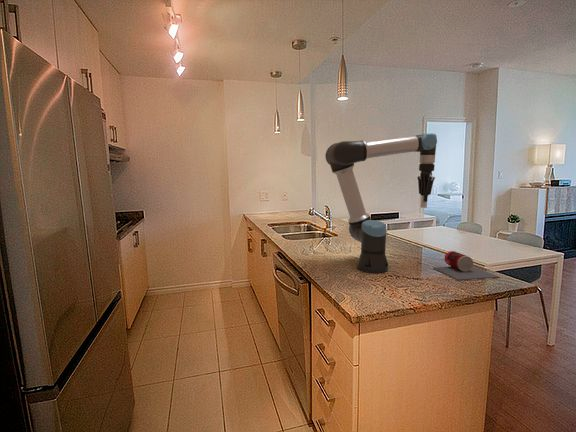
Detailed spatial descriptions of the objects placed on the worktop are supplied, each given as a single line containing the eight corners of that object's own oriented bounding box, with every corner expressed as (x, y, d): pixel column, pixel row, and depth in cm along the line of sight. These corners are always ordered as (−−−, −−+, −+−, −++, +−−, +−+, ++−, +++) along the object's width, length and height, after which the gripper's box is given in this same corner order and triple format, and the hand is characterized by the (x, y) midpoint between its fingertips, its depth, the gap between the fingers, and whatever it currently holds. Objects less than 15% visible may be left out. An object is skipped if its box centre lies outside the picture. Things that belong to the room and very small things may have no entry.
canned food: (455, 266, 163) (471, 273, 152) (442, 264, 162) (456, 270, 151) (459, 252, 162) (475, 257, 152) (445, 249, 161) (460, 254, 150)
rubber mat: (457, 280, 142) (458, 279, 142) (433, 268, 159) (433, 267, 159) (499, 278, 145) (499, 276, 145) (470, 266, 163) (470, 265, 163)
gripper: (440, 163, 165) (437, 208, 168) (426, 164, 178) (423, 206, 181) (427, 163, 164) (423, 208, 167) (413, 163, 177) (410, 206, 180)
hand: (423, 207), depth 174 cm, fingers closed
